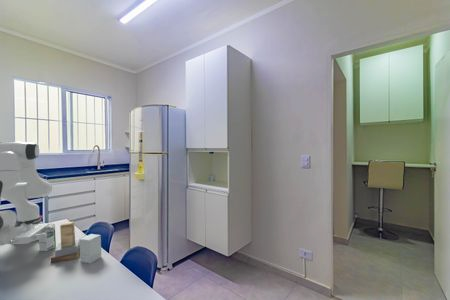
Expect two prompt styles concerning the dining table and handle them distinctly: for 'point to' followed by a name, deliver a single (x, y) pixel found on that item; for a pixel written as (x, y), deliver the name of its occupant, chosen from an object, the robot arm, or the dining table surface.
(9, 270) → the dining table surface
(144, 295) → the dining table surface
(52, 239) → the syrup box
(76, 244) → the tower top slab
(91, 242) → the supplement box
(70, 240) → the oak block
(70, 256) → the tower base slab
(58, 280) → the dining table surface
